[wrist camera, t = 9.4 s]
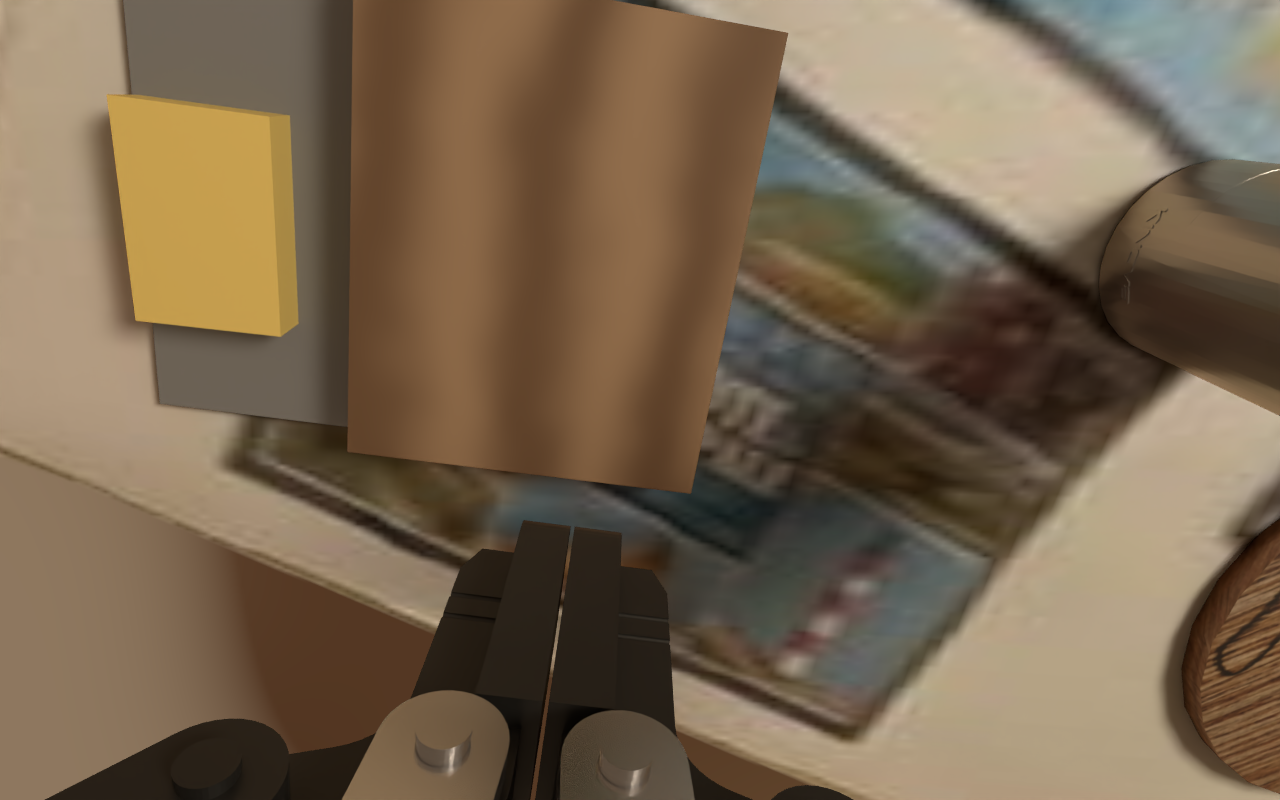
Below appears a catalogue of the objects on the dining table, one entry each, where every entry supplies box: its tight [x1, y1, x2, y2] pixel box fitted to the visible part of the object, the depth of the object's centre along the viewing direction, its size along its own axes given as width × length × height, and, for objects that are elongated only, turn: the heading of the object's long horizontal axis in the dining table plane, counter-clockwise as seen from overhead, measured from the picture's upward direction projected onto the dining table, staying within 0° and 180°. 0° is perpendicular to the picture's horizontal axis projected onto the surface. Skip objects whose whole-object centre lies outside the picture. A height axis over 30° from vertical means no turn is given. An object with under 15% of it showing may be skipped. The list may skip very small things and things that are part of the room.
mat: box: [123, 0, 353, 427], centre depth 32 cm, size 9×20×1 cm, turn 171°
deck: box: [347, 0, 788, 494], centre depth 32 cm, size 16×20×3 cm
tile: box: [107, 95, 299, 337], centre depth 31 cm, size 6×9×2 cm, turn 172°
